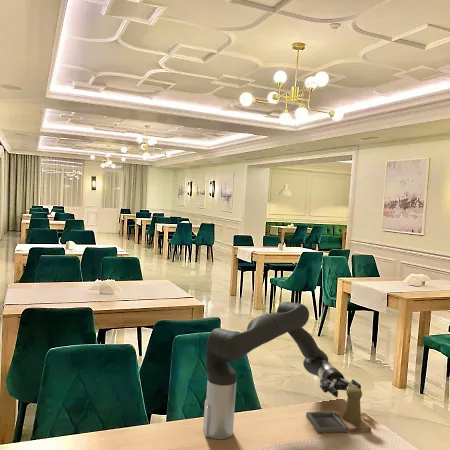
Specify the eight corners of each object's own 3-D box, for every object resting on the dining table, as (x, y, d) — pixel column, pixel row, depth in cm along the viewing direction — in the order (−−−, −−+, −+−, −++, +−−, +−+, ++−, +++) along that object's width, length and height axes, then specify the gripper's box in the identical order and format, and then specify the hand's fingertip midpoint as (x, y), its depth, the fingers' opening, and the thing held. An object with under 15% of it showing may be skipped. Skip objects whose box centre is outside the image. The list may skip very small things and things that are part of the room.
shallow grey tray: (318, 433, 157) (318, 428, 157) (306, 416, 169) (306, 412, 168) (347, 432, 159) (347, 428, 158) (332, 415, 170) (333, 411, 170)
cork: (357, 415, 168) (360, 385, 168) (363, 423, 162) (366, 392, 162) (341, 414, 168) (343, 384, 167) (345, 423, 162) (348, 391, 161)
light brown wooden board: (348, 432, 159) (348, 428, 159) (334, 415, 170) (334, 411, 170) (370, 432, 160) (371, 427, 160) (355, 415, 172) (355, 411, 172)
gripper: (314, 367, 184) (330, 384, 168) (348, 367, 186) (368, 384, 170) (312, 386, 184) (328, 405, 168) (347, 386, 187) (366, 404, 171)
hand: (348, 394), depth 169 cm, fingers open, 8 cm apart
